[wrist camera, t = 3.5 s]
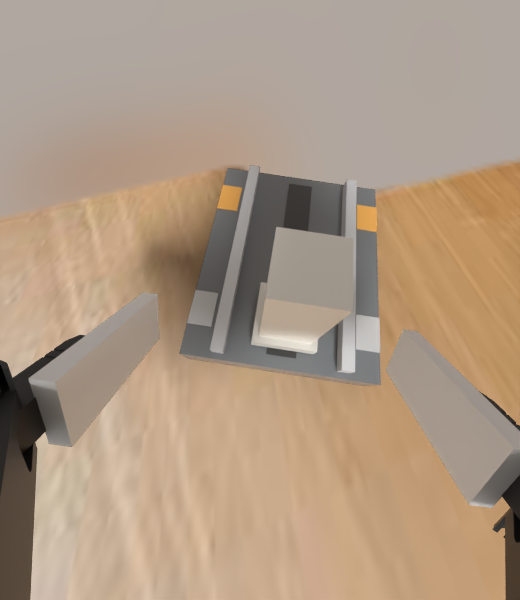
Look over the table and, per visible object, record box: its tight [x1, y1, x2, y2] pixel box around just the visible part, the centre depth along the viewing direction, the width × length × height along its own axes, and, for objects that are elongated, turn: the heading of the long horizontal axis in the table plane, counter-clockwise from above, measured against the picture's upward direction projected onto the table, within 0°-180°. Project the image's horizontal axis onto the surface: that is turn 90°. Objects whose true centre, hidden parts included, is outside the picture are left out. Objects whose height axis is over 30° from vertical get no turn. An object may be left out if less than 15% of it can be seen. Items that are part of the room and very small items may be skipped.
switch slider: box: [251, 227, 354, 354], centre depth 16 cm, size 5×5×9 cm
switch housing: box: [179, 165, 381, 386], centre depth 24 cm, size 16×20×4 cm
